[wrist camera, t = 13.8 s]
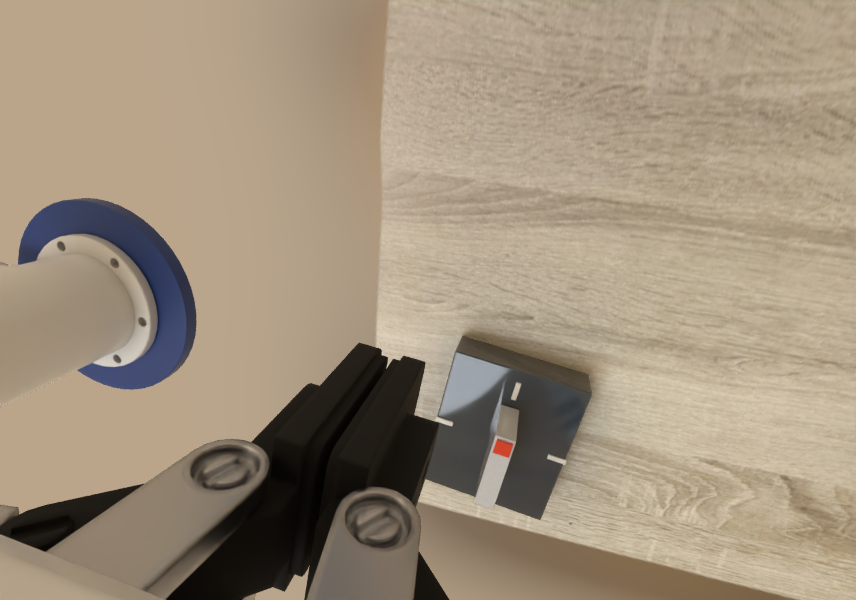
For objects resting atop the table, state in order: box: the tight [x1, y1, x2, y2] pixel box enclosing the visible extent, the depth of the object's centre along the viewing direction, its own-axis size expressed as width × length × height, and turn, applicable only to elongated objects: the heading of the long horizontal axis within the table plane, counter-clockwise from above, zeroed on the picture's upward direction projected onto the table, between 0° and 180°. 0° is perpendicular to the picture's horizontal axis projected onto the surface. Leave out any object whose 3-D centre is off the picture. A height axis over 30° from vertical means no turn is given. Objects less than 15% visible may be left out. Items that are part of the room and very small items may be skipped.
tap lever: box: [474, 405, 519, 510], centre depth 33 cm, size 6×1×4 cm, turn 168°
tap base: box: [425, 336, 592, 520], centre depth 37 cm, size 12×10×3 cm
